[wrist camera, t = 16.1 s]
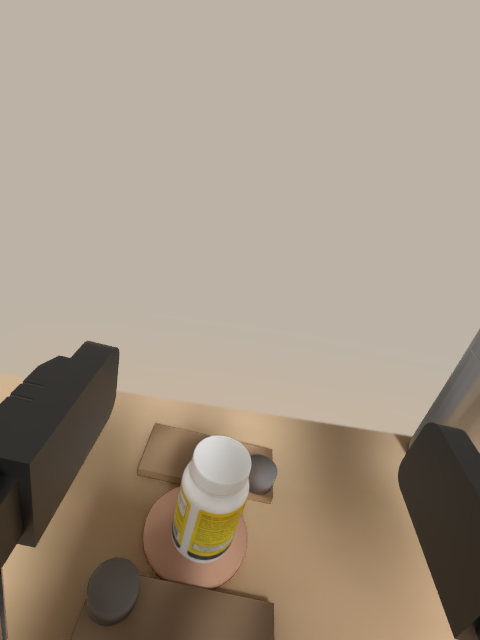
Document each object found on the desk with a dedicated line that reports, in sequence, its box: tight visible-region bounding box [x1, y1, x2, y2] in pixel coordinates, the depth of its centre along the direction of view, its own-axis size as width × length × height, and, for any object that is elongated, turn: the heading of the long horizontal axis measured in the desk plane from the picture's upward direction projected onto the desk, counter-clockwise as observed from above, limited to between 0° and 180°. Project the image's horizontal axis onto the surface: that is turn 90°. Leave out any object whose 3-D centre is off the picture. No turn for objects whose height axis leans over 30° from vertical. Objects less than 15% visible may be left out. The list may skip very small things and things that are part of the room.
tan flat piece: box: [71, 424, 277, 640], centre depth 28 cm, size 12×19×2 cm, turn 175°
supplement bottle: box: [171, 435, 252, 563], centre depth 26 cm, size 5×5×8 cm
